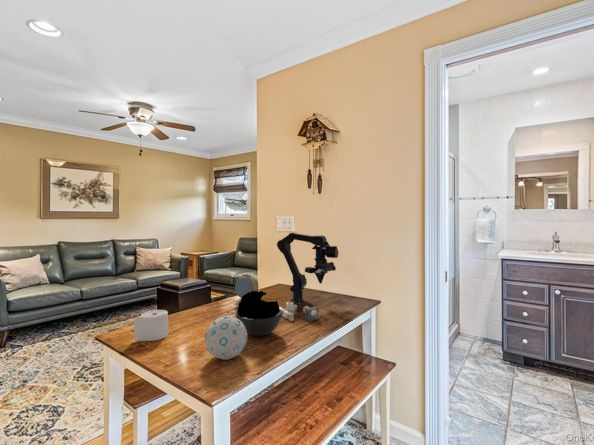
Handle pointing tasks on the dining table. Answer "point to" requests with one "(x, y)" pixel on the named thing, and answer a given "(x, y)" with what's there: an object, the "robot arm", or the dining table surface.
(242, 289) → the alarm clock
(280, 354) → the dining table surface
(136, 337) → the toilet tissue
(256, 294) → the bowl of black rocks
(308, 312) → the pipe stand
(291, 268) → the robot arm
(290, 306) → the valve
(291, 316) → the fence
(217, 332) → the puzzle ball
